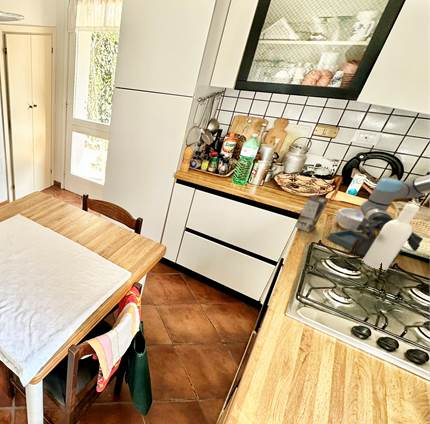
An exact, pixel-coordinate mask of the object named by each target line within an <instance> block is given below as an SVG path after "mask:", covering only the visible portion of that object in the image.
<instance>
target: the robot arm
mask: <svg viewBox="0 0 430 424" xmlns="http://www.w3.org/2000/svg"><path fill="white" fill-rule="evenodd" d="M425 194H430V174H427V175H424V176H420V177H416V178H413V179H410V180H406V181H402V180H399V179H397V178H392V177H382V178H380V179H379V180H378V182H377V183H376V184H375V185H374V188H373V190H372V192H371V194H370V195H369V198H368V199H367V200H365V201H364V202H362V203H361V204H360V210H361V211H362V214H363V215H364V216H365V218H363V220H362V222H361V223H360V224H359V225H358V227H357V229H356V230H359V231H360V230H362V232H360V234H361V235H364V236H366V237H368V238H369V240H370V241H372V240H375V237H377V235H376V233H375V231H377V232H378V231H379V232H380V231H381V230H382V228H383V227H384V225H385V224H386V223H387V222H389V221H391V220H394V219H393V218H392V216H391V214H390V213H389V212H388V209H389V208H390V206H391V205H392V203H393V201H394V200H400V199H414V198H418V197H421V196H423V195H425ZM367 224H369V225H367ZM365 225H367V226H365ZM364 226H365V227H364ZM423 240H424V238H423V237H421V236H420V235H419V234H417V233H415V232H413V231H412V233H411V235H410V237H409V238H408V239H407V241H406V242H407V244H408V245H409V247H410V248H411V250H412V251H413V252H416V251H418V250H419V248H420V247H421V242H422V241H423Z"/></svg>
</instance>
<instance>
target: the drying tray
mask: <svg viewBox="0 0 430 424" xmlns="http://www.w3.org/2000/svg"><path fill="white" fill-rule="evenodd" d="M357 237H359V238H364V239H368V240H369V238H368V236H366V235H364V234H362V233H360V232H355V231H352V230H350V229H349V230H347V229H344V230H339V231H334V232H330V233H329V235H328V237H327V240H330V241H331V242H333V243H336V244H338V245H340V246H341V247H343V248H345V249H347V250H348V251H349V250H350V248H351V247H352V245H353V243H354V242H355V240H356V238H357ZM372 241H375V239H373V240H372Z"/></svg>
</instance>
